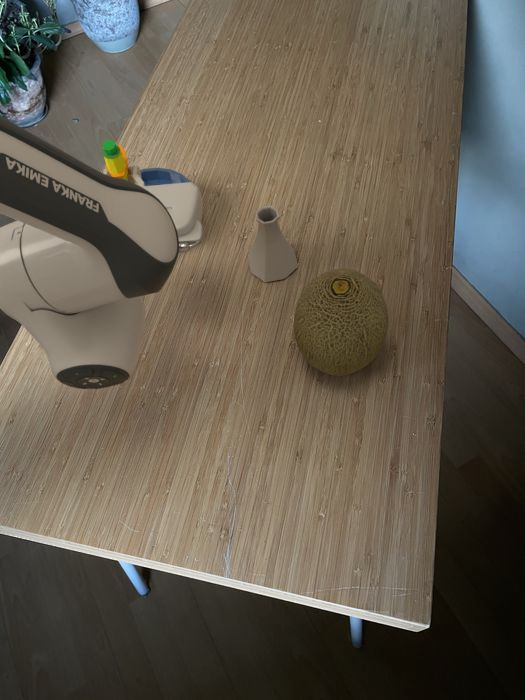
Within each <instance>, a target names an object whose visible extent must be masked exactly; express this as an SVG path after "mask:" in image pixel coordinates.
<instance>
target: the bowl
mask: <svg viewBox="0 0 525 700" xmlns="http://www.w3.org/2000/svg"><path fill="white" fill-rule="evenodd" d="M140 172H141V179H142V180H143V182H144V184H145V186H152V185H164V184H175V183H186V182H191V181H190V179H188V178H187V177H186V176H185V175H184V174H182V173H181V172H178V171H176V170H173V169H171V168H163V167H150V168H142V169H140Z"/></svg>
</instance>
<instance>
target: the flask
mask: <svg viewBox="0 0 525 700" xmlns="http://www.w3.org/2000/svg"><path fill="white" fill-rule="evenodd" d="M254 215H255V219H256V222H257V223H258V224H257V225H258V226H257V232H256V235H255V238H254V241H253V243H252V245H251V248H250V250H249V253H248V255H247V260H248V267H249V271H250V273H251V274H252V275H254V276H255V277H257V278H258V279H259V280H260V281H262V282H263V283H268V282H269V283H270V282H276V281H279V280H285V279H286V278H287V277H289V276H290V275H291V274H292V273H293V272H295V271H296V269H298V268H299V264H298V260H297V255H296V251H295V250H294V248H293V247H292V245H291V244H290V242H289V241H288V240H287V238H286V236H285V235H284V233H283V231H282V229H281V228H280V225H279V221H280V219H281V215H280V211H279V209H278V208H277V207H275V206H274V205H272V204H268V205H264V206H261V207H259V208H258V209H257V210H256V211H254Z"/></svg>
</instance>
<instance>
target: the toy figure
mask: <svg viewBox="0 0 525 700" xmlns="http://www.w3.org/2000/svg"><path fill="white" fill-rule="evenodd" d="M101 148H102V152H101V153H102V156H103V158H104V161H105V169H107V170H108V172H109V173H110V175H111V176H112V177H116V178H122V179H125V180H128V178H127V174H128V167H129V162H128V161H129V160H128V155H127V152H126V150H125V148H124V147H123V146H122V145H120V144H117V143H116V142H115V141H114V140H111V139H108V140H105V141H104V142H103V143H102V145H101Z"/></svg>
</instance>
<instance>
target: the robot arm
mask: <svg viewBox="0 0 525 700" xmlns="http://www.w3.org/2000/svg"><path fill="white" fill-rule="evenodd" d="M140 170H141V169H140V167H139V165H135V166H128V174H127V178H128V180H125V179H122V178H116V177H112V176H111V175H110V173H109V172H108V170H107V169H106V168H103V171H102V172H101V171H99V170H97V169H95V168H94V167H92V166H90V165H88V164H86V163H85V162H83V161H81V160H80V159H78V158H76V157H74V156H72V155H70V154H69V153H66V152H65V151H64V150H63V149H62V150H61V149H60V148H58V147H57V146H54V145H53V144H51V143H49V142H48V141H46V140H44V139H42V138H41V137H39V136H37V135H36V134H33V133H32V132H30V131H29V130H27V129H24V128H23V127H21V126H19V125H18V124H16V123H14V122H13V121H10V120H8V119H7V118H5V117H3V116H2V115H0V215H3V216H6V217H8V218H10V219H13V220H15V221H12V222H10V223H7V224H5V225H2V226H0V314H2V315H4V316H5V317H7V318H8V319H10V320H12V321H13V322H15V323H17V324H19V325H20V326H22V327H23V328H24V329H25V330H26V331H27V332H28V333H29V334H30V335H31V337H33V339H34V340H35V341H36V342H37V343H38V345H39V346H40V347H41V348H42V350H43V352H44V353H45V356H47V360H48V363H49V367H50V370H51V373H52V375H53V377H54V378H55V379H56V380H57V381H58V382H60V383H62V384H63V385H65V386H68V387H70V388H73V389H79V390H101V389H107V388H110V387H114V386H117V385H120V384H123V383H125V382H127V381H128V380H129V379H130V378H131V377H132V376H133V374H134V372H135V370H136V368H137V365H138V362H139V359H140V355H141V349H142V345H143V340H144V335H145V334H144V333H145V326H146V325H145V323H146V315H147V314H146V307H145V303H144V298H145V296H148V295H153V294H157V293H160V291H161V290H162V289H163V287H164V286H165V284H166V283H167V282H168V279H169V278H170V276H171V274H172V273H173V270H174V268H175V266H176V263H177V261H178V257H179V254H180V253H186V252H187V253H188V252H190V250H191V249H193V248H195V247H197V246H198V245H200V244H202V242H203V238H204V226H203V223H202V220H203V214H204V202H203V197H202V193H201V190H200V187H199V186H197V185H196V183H195V182H191V181H190V182H186V183H175V184H164V185H152V186H145V184H144V182H143V180H142V179H141V172H140Z"/></svg>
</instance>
